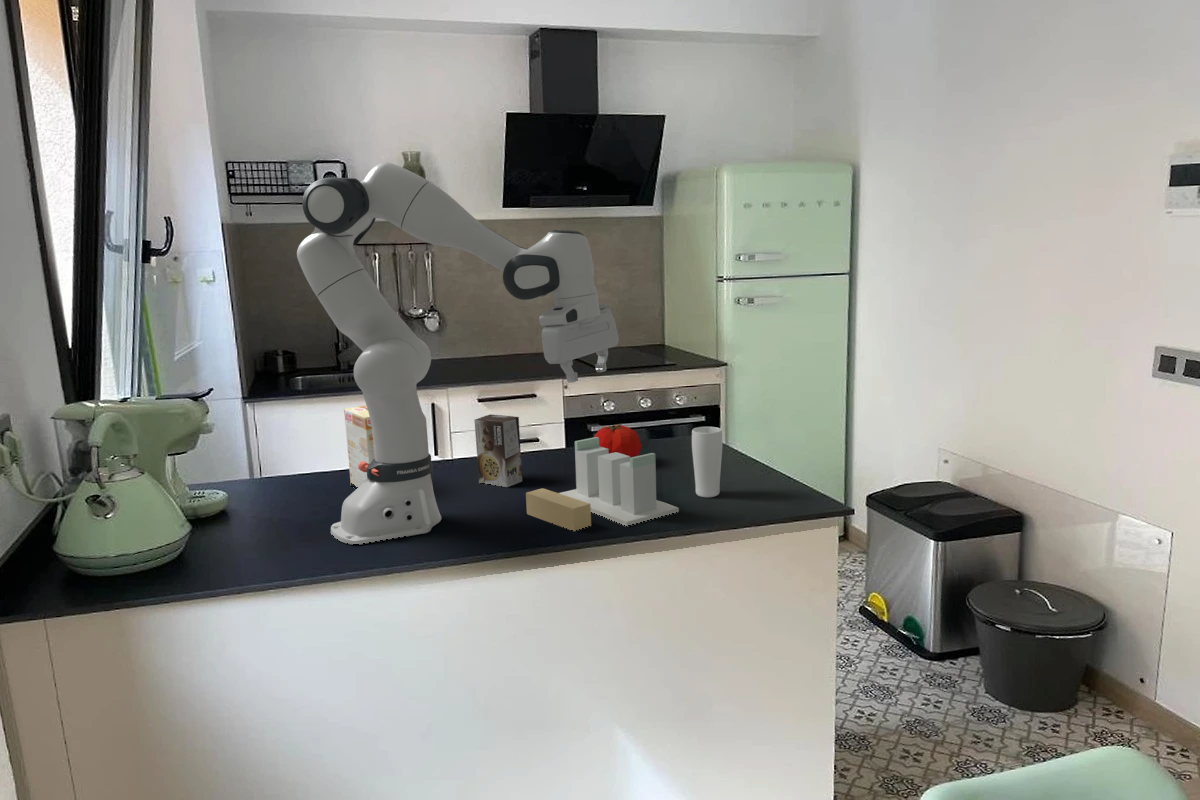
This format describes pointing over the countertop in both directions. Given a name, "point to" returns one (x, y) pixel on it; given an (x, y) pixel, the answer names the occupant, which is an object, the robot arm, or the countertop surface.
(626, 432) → the tomato
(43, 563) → the countertop surface
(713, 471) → the drinking glass
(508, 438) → the coffee box
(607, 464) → the display stand
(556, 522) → the tan wooden plank
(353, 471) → the coffeecake box
